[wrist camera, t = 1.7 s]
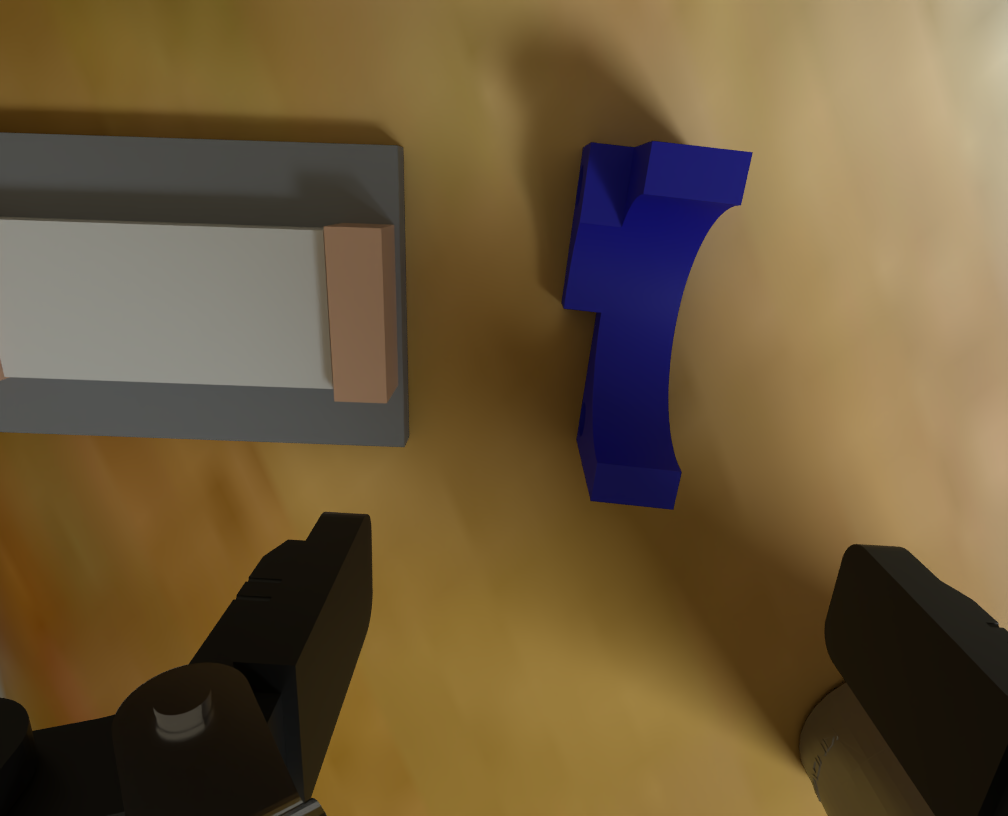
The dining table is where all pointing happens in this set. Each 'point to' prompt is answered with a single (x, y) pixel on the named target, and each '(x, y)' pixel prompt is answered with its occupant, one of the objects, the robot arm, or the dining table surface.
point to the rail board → (208, 198)
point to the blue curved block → (638, 300)
